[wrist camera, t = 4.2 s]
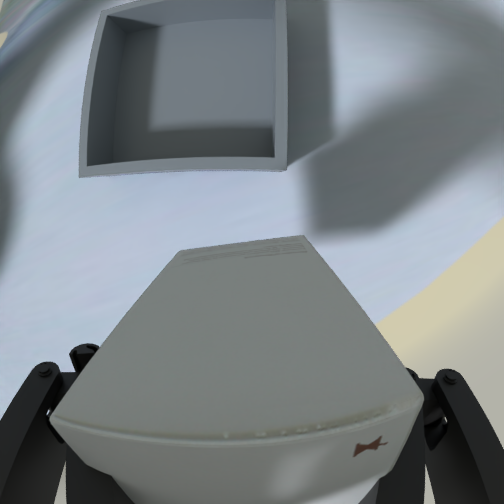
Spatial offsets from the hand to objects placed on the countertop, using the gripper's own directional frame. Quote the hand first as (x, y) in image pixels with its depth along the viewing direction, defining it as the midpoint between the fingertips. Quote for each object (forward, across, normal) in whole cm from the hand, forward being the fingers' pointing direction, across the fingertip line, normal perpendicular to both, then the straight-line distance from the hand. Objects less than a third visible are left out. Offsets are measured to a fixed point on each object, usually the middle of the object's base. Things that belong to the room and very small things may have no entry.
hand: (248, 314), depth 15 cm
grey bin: (+10, -5, +15) cm, 19 cm away
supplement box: (+2, 0, 0) cm, 2 cm away
